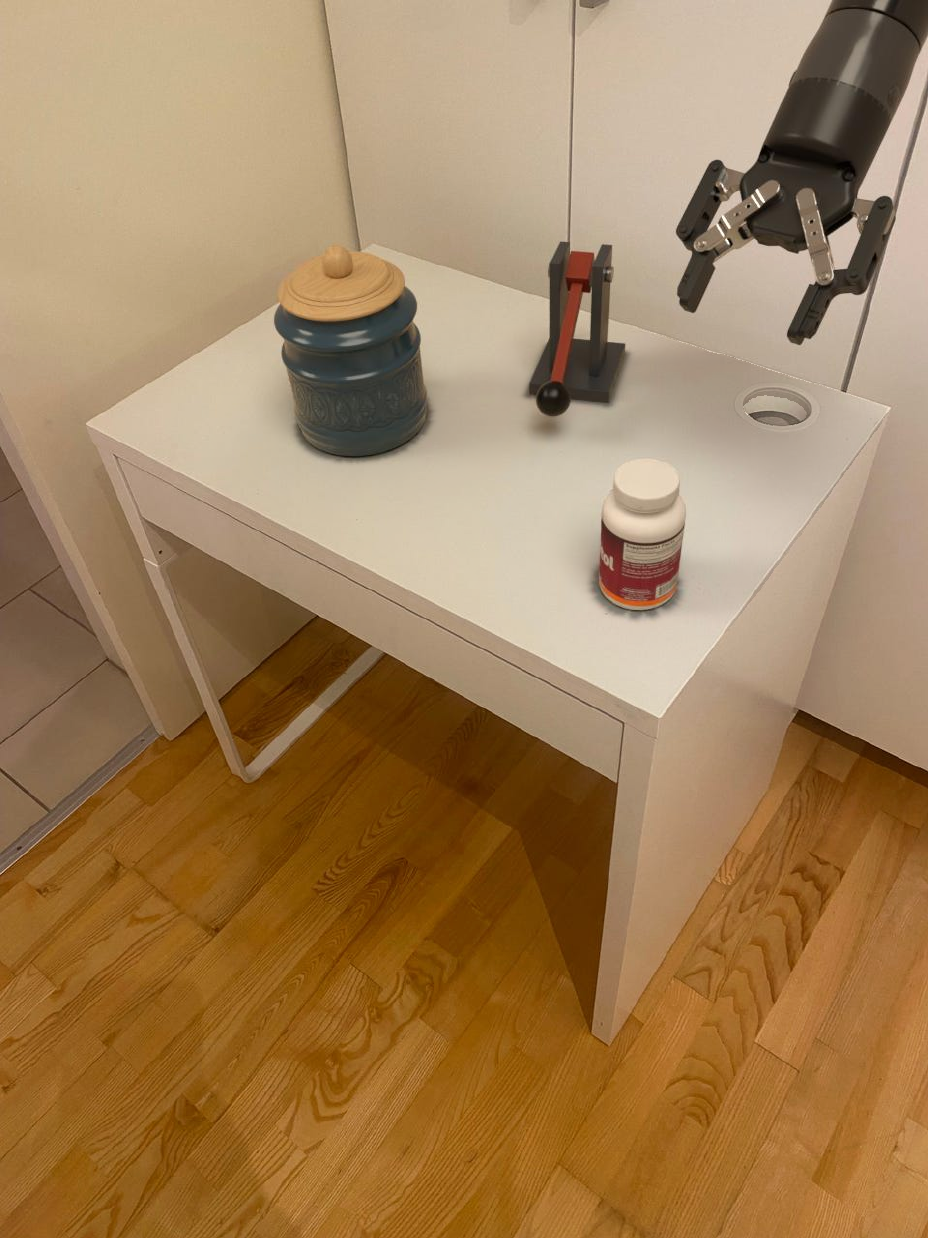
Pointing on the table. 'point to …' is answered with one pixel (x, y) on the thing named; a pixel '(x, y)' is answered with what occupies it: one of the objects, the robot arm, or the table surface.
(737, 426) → the table surface
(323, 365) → the canister
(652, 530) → the pill bottle
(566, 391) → the lever
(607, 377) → the bracket
